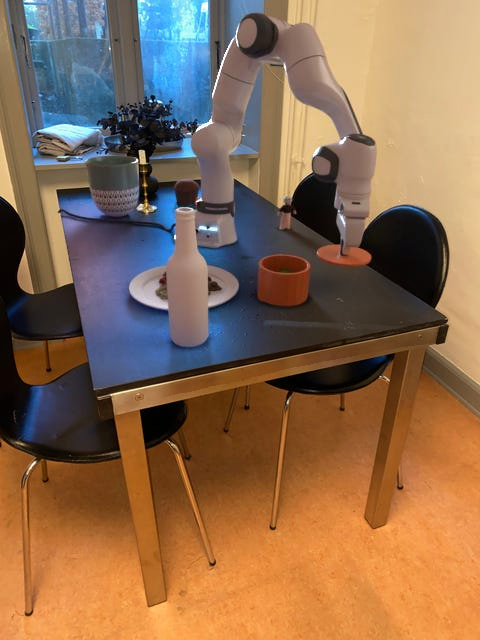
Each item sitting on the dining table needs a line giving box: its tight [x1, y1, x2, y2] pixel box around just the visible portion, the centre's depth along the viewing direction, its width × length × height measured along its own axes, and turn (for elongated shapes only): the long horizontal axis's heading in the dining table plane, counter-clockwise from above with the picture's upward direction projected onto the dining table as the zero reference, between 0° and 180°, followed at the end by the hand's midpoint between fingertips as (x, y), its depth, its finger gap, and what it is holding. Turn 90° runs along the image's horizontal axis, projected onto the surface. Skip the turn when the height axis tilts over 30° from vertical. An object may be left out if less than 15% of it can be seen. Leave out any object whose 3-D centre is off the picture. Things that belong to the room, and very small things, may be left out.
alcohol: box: [166, 206, 209, 348], centre depth 100 cm, size 9×9×30 cm
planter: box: [84, 155, 140, 218], centre depth 184 cm, size 20×20×21 cm
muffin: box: [172, 178, 201, 206], centre depth 205 cm, size 12×11×10 cm
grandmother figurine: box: [276, 194, 297, 231], centre depth 176 cm, size 8×4×13 cm, turn 117°
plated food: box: [128, 264, 240, 311], centre depth 128 cm, size 30×30×3 cm
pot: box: [256, 254, 311, 307], centre depth 125 cm, size 14×14×10 cm
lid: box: [316, 238, 372, 268], centre depth 128 cm, size 15×15×6 cm
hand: (344, 251), depth 128 cm, fingers closed on lid, 2 cm apart
